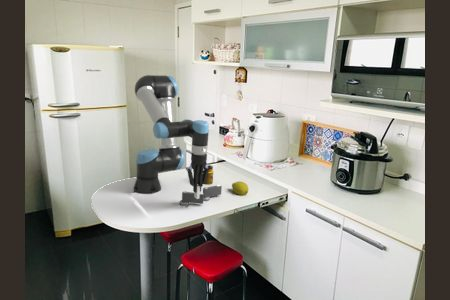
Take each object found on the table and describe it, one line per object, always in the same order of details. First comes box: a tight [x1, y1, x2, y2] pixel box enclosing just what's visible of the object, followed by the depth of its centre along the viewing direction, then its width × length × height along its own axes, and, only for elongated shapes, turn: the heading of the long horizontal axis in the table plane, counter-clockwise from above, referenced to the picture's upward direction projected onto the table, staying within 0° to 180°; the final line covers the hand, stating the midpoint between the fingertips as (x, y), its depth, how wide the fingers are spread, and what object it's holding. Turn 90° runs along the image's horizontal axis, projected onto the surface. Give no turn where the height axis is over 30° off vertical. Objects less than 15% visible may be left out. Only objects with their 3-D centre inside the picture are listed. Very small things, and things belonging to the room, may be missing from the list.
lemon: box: [231, 180, 249, 196], centre depth 184 cm, size 11×8×8 cm
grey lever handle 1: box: [179, 190, 204, 207], centre depth 165 cm, size 12×5×6 cm, turn 87°
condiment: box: [204, 165, 214, 186], centre depth 195 cm, size 7×8×12 cm
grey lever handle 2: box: [202, 184, 223, 202], centre depth 175 cm, size 12×5×6 cm, turn 124°
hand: (196, 197), depth 162 cm, fingers closed
